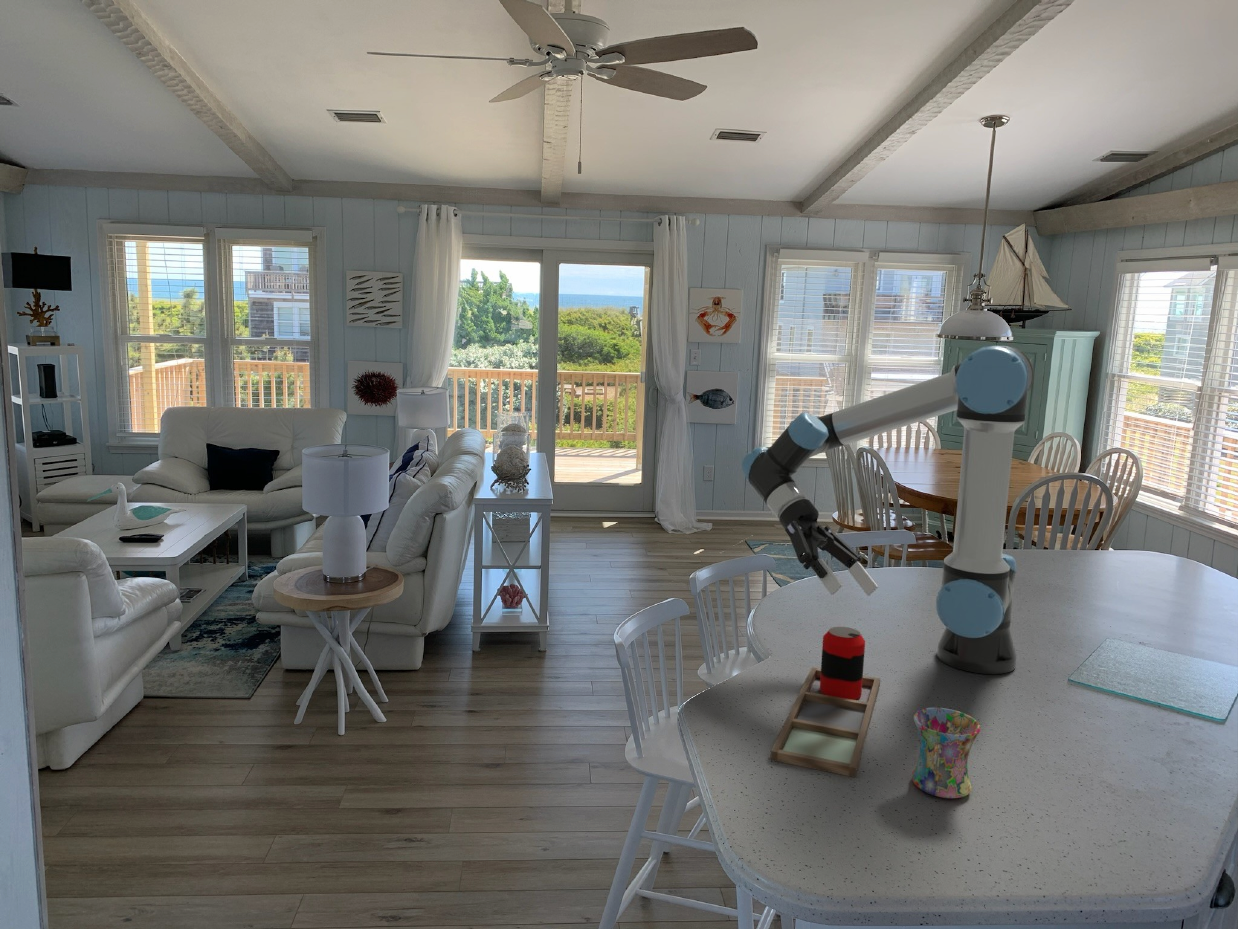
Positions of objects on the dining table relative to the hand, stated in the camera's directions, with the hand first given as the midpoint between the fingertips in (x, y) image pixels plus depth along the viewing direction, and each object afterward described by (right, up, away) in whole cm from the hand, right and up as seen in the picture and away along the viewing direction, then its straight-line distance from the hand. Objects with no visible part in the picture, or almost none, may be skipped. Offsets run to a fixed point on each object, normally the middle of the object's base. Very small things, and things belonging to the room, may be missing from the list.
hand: (855, 590), depth 168 cm
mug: (+2, -25, -37) cm, 45 cm away
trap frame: (-8, -20, -14) cm, 26 cm away
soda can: (-4, -19, -3) cm, 20 cm away
